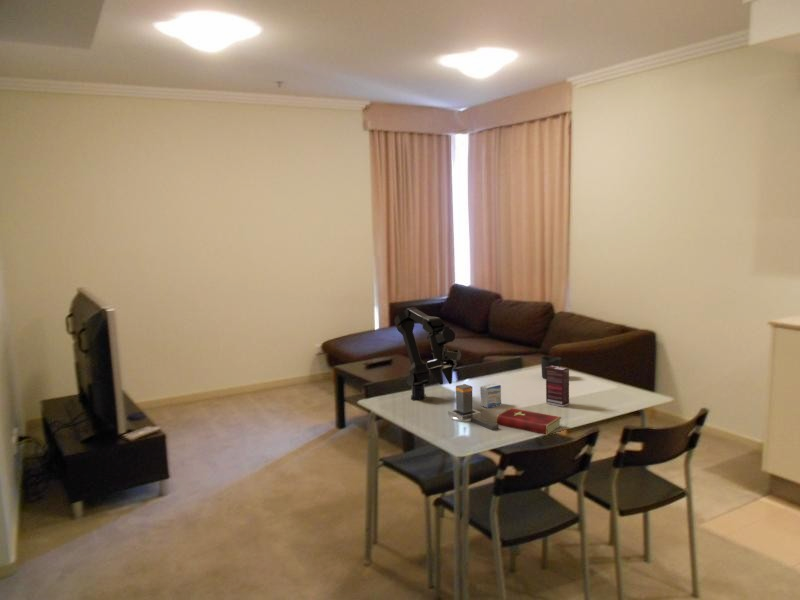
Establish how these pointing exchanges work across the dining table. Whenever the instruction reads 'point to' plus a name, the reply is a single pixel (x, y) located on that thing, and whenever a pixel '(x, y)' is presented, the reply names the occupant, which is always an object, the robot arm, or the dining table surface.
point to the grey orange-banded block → (464, 399)
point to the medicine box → (490, 395)
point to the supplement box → (557, 386)
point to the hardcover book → (528, 421)
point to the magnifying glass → (473, 419)
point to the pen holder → (549, 363)
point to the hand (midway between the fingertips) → (446, 383)
